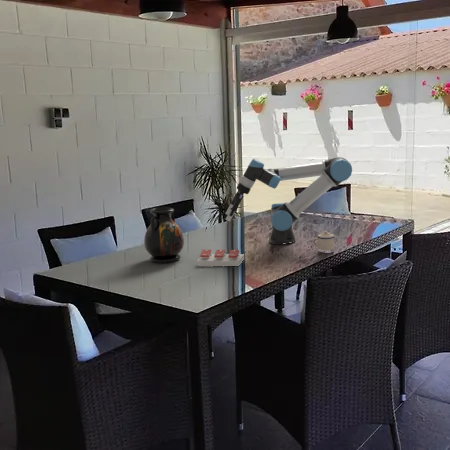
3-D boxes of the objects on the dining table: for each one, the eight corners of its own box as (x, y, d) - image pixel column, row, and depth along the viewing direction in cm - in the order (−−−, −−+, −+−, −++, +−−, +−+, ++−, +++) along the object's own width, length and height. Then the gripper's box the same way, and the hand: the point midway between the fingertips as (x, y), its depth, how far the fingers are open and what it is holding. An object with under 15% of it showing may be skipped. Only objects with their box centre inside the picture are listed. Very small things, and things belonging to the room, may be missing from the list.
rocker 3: (239, 254, 305) (239, 249, 304) (237, 260, 299) (236, 255, 298) (231, 254, 306) (230, 249, 305) (228, 260, 300) (228, 255, 299)
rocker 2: (225, 254, 307) (225, 249, 306) (222, 260, 301) (222, 255, 300) (217, 254, 308) (216, 249, 307) (214, 260, 302) (214, 255, 301)
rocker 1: (211, 254, 309) (211, 249, 307) (208, 259, 303) (208, 255, 302) (203, 253, 310) (203, 249, 308) (200, 259, 304) (200, 255, 303)
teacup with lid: (336, 250, 320) (336, 229, 318) (330, 254, 313) (330, 233, 311) (316, 248, 327) (316, 228, 324) (309, 252, 319) (309, 231, 317)
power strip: (244, 259, 311) (244, 253, 310) (239, 266, 298) (238, 260, 297) (204, 259, 316) (203, 253, 315) (197, 266, 303) (196, 260, 302)
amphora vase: (169, 267, 303) (165, 214, 298) (137, 263, 315) (133, 211, 309) (193, 257, 321) (190, 206, 315) (162, 253, 332) (158, 204, 327)
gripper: (239, 178, 340) (221, 209, 345) (240, 186, 316) (221, 219, 320) (250, 184, 341) (232, 215, 346) (252, 192, 317) (233, 226, 321)
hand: (227, 217), depth 333 cm, fingers open, 13 cm apart
